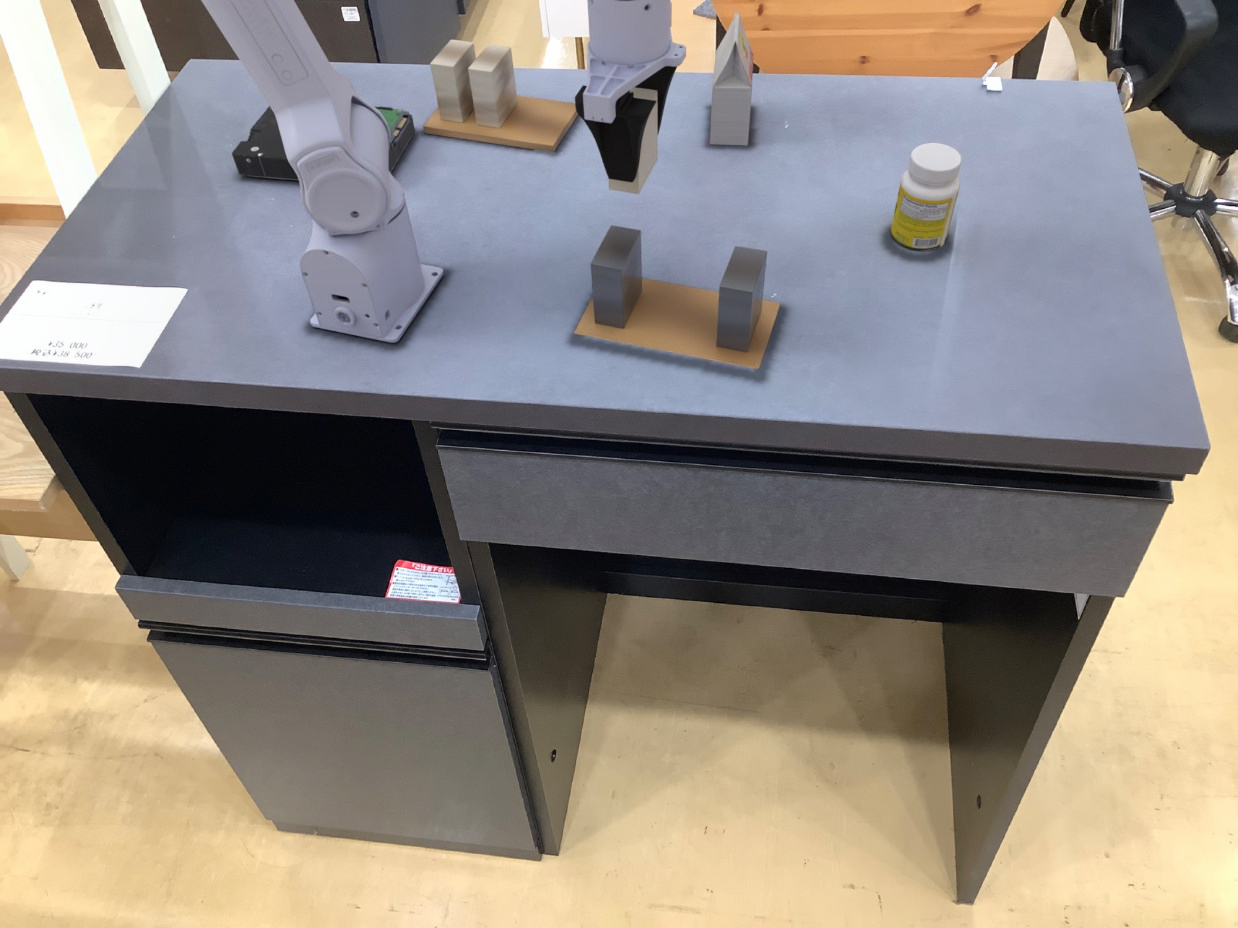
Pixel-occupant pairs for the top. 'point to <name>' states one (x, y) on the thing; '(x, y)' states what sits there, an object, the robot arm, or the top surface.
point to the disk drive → (268, 152)
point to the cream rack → (492, 101)
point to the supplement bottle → (927, 197)
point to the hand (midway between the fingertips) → (632, 159)
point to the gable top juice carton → (732, 88)
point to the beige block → (643, 147)
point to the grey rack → (679, 305)
